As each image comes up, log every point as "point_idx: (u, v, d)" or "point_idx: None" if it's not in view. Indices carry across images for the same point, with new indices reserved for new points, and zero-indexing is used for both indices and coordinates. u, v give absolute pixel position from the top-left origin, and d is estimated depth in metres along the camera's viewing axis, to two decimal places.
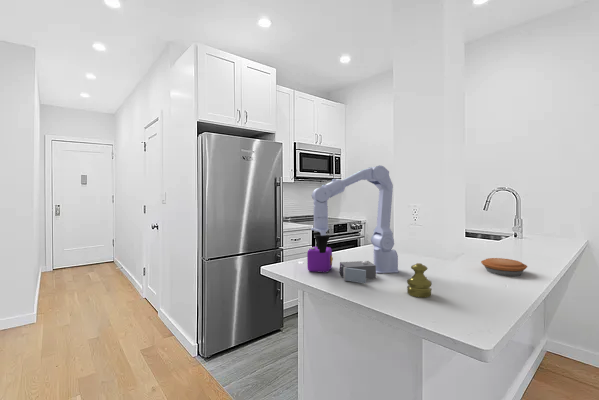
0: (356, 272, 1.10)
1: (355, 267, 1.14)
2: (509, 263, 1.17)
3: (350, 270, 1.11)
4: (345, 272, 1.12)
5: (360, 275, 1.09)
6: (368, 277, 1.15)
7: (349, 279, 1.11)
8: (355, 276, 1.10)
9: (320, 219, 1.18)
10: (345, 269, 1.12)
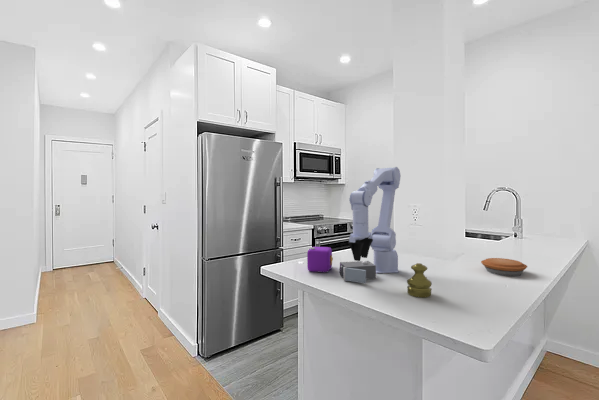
0: (356, 272, 1.10)
1: (355, 267, 1.14)
2: (509, 263, 1.17)
3: (350, 270, 1.11)
4: (345, 272, 1.12)
5: (360, 275, 1.09)
6: (368, 277, 1.15)
7: (349, 279, 1.11)
8: (355, 276, 1.10)
9: (356, 225, 1.09)
10: (345, 269, 1.12)
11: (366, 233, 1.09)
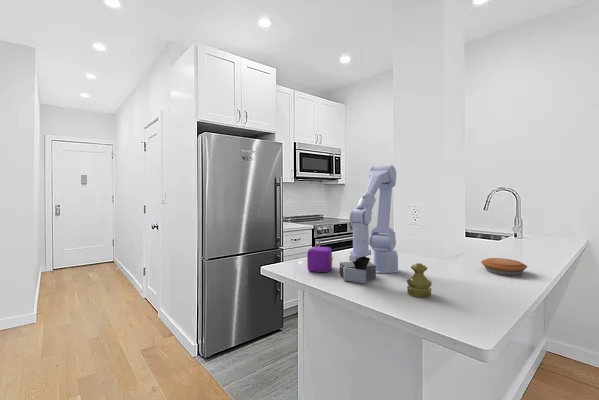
0: (356, 272, 1.10)
1: None
2: (509, 263, 1.17)
3: (350, 270, 1.11)
4: (345, 272, 1.12)
5: (360, 275, 1.09)
6: (368, 277, 1.15)
7: (349, 279, 1.11)
8: (355, 276, 1.10)
9: (356, 243, 1.10)
10: (345, 269, 1.12)
11: (366, 252, 1.09)
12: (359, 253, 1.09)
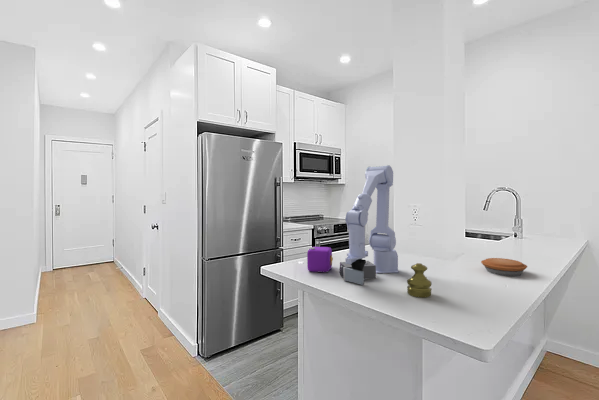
0: (354, 273, 1.09)
1: None
2: (509, 263, 1.17)
3: (349, 270, 1.10)
4: (345, 272, 1.12)
5: (358, 276, 1.08)
6: (368, 277, 1.15)
7: (348, 279, 1.11)
8: (353, 277, 1.09)
9: (352, 245, 1.07)
10: (345, 269, 1.12)
11: (363, 253, 1.07)
12: (355, 255, 1.07)
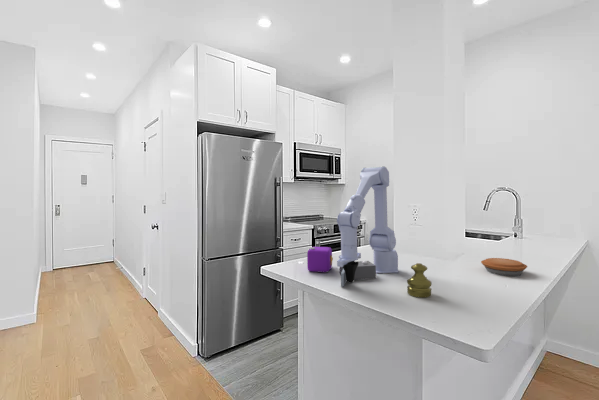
0: None
1: None
2: (509, 263, 1.17)
3: None
4: None
5: None
6: (368, 277, 1.15)
7: None
8: None
9: (344, 247, 1.05)
10: None
11: (355, 256, 1.05)
12: (347, 257, 1.04)
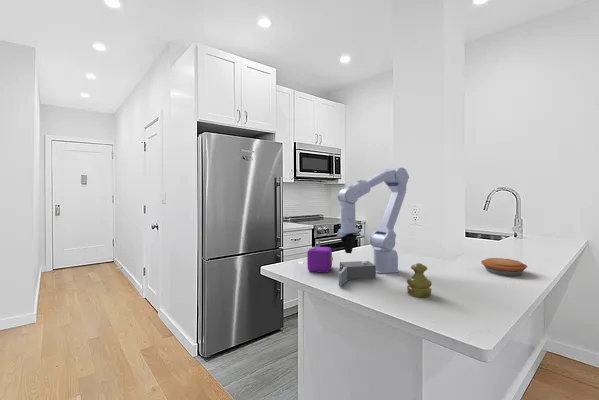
0: None
1: (355, 267, 1.14)
2: (509, 263, 1.17)
3: None
4: None
5: None
6: (368, 277, 1.15)
7: None
8: None
9: (343, 220, 1.17)
10: (343, 269, 1.12)
11: (353, 228, 1.16)
12: (346, 230, 1.16)
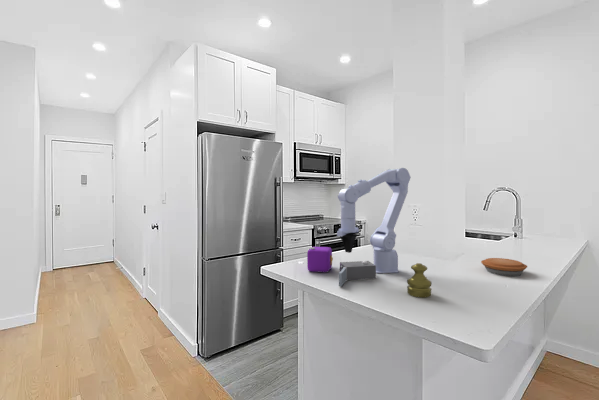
0: None
1: (355, 267, 1.14)
2: (509, 263, 1.17)
3: None
4: None
5: None
6: (368, 277, 1.15)
7: None
8: None
9: (343, 220, 1.17)
10: (343, 269, 1.12)
11: (353, 228, 1.17)
12: (346, 229, 1.17)
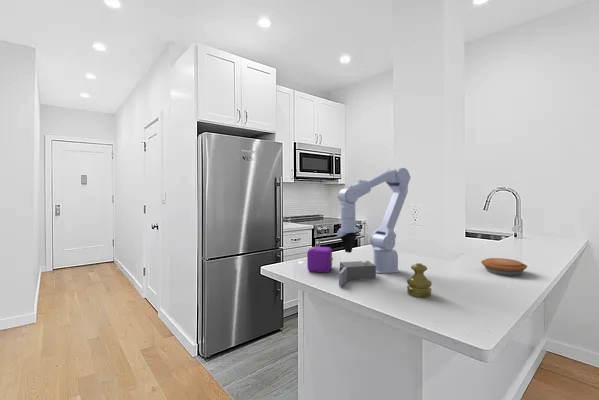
0: None
1: (355, 267, 1.14)
2: (509, 263, 1.17)
3: None
4: None
5: None
6: (368, 277, 1.15)
7: None
8: None
9: (343, 220, 1.17)
10: (343, 269, 1.12)
11: (353, 228, 1.17)
12: (346, 229, 1.17)
